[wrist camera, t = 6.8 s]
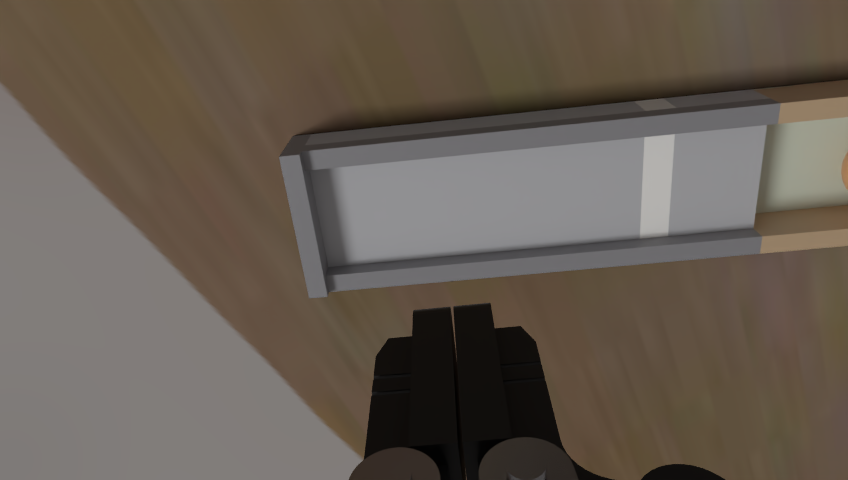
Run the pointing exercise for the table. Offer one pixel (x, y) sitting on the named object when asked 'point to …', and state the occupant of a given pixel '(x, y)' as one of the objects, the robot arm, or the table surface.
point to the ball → (845, 171)
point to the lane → (571, 188)
